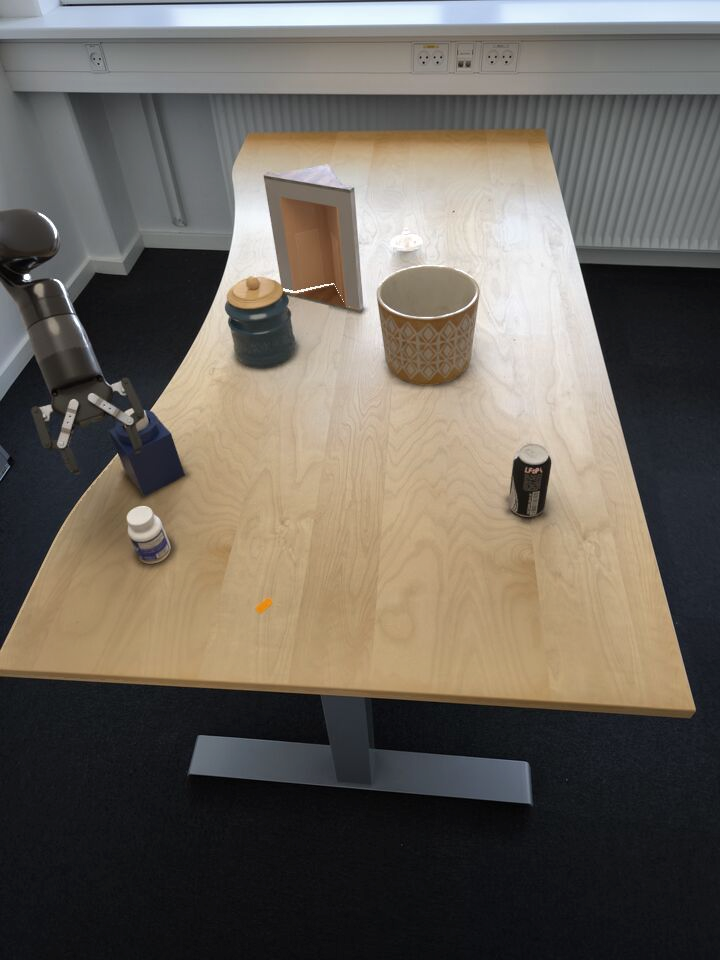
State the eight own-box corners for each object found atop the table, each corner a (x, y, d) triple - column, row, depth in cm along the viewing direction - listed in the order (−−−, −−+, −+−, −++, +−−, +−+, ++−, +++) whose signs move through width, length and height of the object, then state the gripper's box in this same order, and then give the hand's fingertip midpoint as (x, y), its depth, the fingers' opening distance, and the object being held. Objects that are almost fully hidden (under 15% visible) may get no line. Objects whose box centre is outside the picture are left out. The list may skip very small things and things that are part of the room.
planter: (491, 378, 144) (496, 304, 132) (398, 401, 141) (395, 327, 129) (454, 327, 157) (456, 256, 146) (368, 347, 154) (363, 276, 143)
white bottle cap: (130, 435, 121) (127, 426, 119) (121, 423, 123) (117, 414, 122) (152, 425, 122) (149, 415, 121) (142, 413, 125) (139, 404, 123)
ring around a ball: (394, 259, 180) (425, 254, 181) (393, 237, 176) (425, 232, 177) (387, 245, 186) (418, 240, 187) (386, 223, 182) (417, 219, 183)
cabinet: (282, 294, 172) (263, 175, 153) (304, 274, 178) (288, 157, 158) (360, 312, 164) (350, 189, 144) (380, 292, 170) (373, 170, 150)
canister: (224, 364, 154) (206, 289, 141) (252, 330, 162) (237, 257, 150) (280, 374, 150) (267, 298, 137) (306, 339, 158) (295, 264, 146)
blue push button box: (144, 496, 127) (123, 445, 119) (125, 472, 132) (104, 421, 123) (185, 475, 130) (168, 424, 122) (165, 452, 135) (147, 401, 126)
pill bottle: (136, 544, 119) (120, 507, 113) (168, 535, 120) (154, 498, 114) (140, 568, 116) (123, 531, 109) (173, 559, 116) (158, 522, 110)
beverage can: (523, 489, 122) (530, 435, 114) (551, 506, 119) (560, 452, 110) (501, 507, 120) (506, 453, 111) (529, 525, 116) (536, 471, 108)
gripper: (7, 364, 97) (53, 478, 97) (113, 332, 101) (157, 442, 101) (18, 376, 104) (60, 482, 104) (116, 345, 108) (157, 448, 108)
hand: (108, 462), depth 103 cm, fingers open, 8 cm apart
